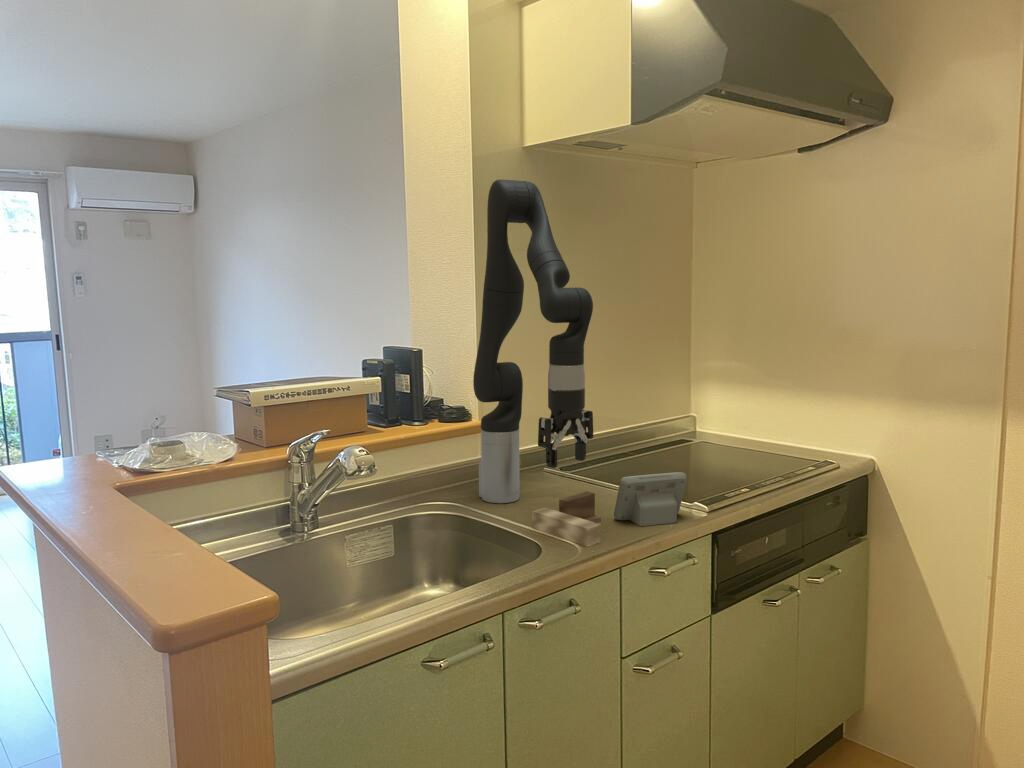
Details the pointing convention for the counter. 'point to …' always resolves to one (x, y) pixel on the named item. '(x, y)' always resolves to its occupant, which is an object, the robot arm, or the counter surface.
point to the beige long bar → (566, 526)
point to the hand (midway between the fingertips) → (566, 463)
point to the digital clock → (650, 498)
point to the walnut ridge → (580, 506)
